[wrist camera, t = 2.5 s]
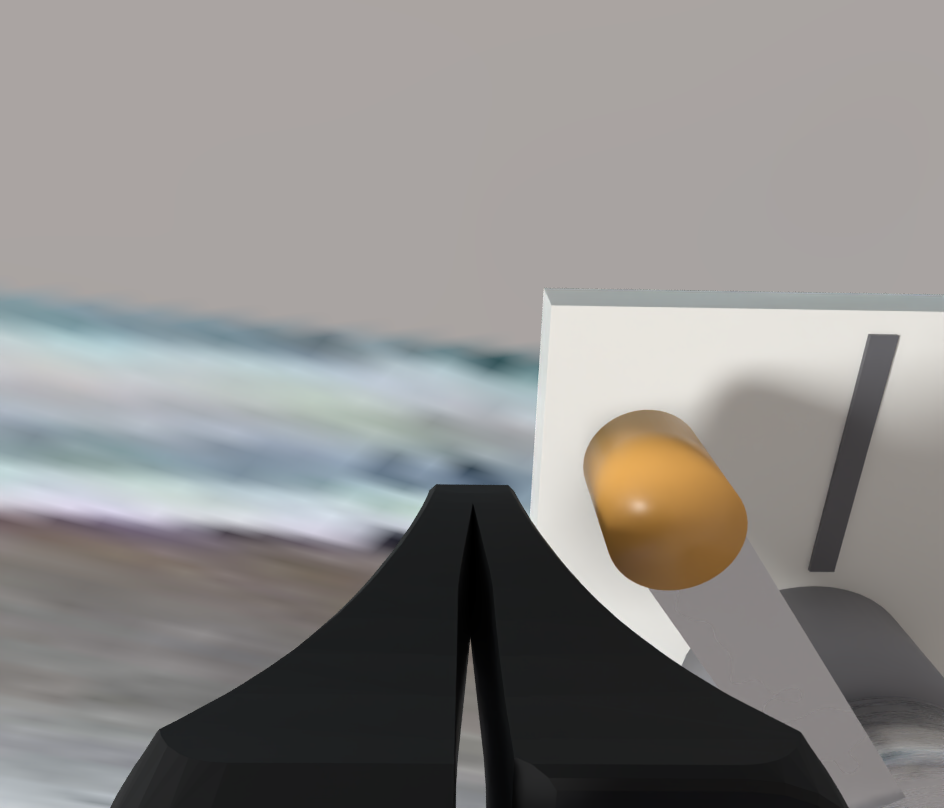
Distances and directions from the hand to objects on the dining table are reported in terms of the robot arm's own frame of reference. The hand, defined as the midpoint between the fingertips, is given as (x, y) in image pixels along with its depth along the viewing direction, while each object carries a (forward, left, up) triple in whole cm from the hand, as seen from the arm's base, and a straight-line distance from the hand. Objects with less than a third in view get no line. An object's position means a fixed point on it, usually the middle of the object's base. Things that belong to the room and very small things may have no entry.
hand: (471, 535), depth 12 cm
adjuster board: (-5, -9, -5) cm, 11 cm away
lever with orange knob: (-4, -6, -1) cm, 7 cm away
